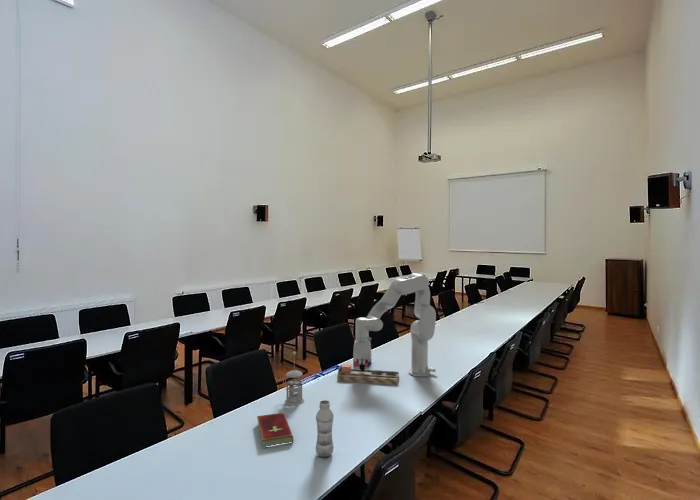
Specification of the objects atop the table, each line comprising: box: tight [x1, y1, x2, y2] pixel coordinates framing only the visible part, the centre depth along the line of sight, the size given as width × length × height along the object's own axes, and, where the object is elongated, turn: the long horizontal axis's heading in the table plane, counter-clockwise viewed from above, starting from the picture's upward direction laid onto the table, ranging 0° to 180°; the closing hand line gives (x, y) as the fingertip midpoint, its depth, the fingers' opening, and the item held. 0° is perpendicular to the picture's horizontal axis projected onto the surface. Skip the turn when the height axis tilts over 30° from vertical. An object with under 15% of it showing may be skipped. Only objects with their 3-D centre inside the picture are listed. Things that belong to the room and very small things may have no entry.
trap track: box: [336, 364, 400, 386], centre depth 221 cm, size 34×12×6 cm, turn 80°
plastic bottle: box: [315, 399, 335, 458], centre depth 144 cm, size 6×7×20 cm
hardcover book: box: [256, 411, 294, 448], centre depth 160 cm, size 12×21×4 cm, turn 19°
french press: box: [282, 351, 305, 407], centre depth 191 cm, size 10×12×25 cm
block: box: [341, 363, 352, 373], centre depth 223 cm, size 5×5×4 cm
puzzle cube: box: [352, 356, 372, 368], centre depth 245 cm, size 10×10×10 cm
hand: (362, 370), depth 221 cm, fingers closed
